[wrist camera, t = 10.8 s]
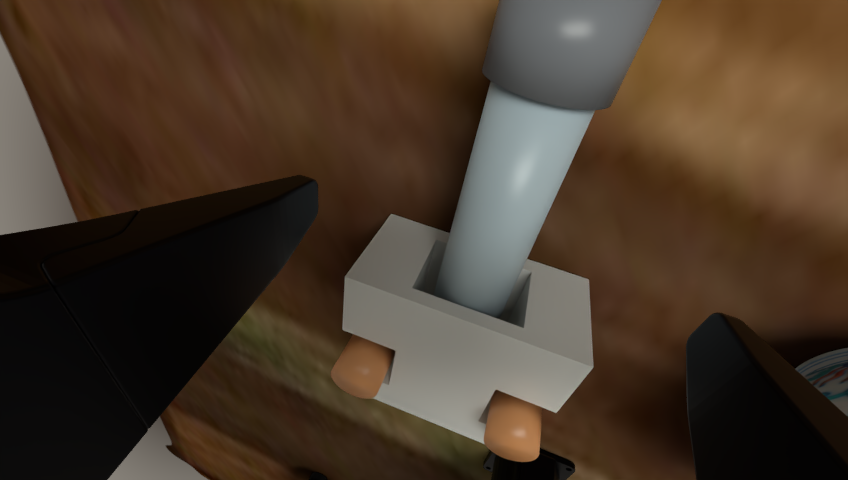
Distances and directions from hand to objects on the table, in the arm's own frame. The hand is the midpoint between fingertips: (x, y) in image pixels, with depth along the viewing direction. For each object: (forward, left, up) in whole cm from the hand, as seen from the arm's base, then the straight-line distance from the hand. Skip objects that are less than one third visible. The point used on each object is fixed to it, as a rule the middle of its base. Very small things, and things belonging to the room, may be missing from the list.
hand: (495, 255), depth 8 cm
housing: (-13, 0, -11) cm, 17 cm away
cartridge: (-3, 0, -10) cm, 11 cm away
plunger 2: (-14, -4, -6) cm, 16 cm away
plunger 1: (-14, +4, -6) cm, 16 cm away
